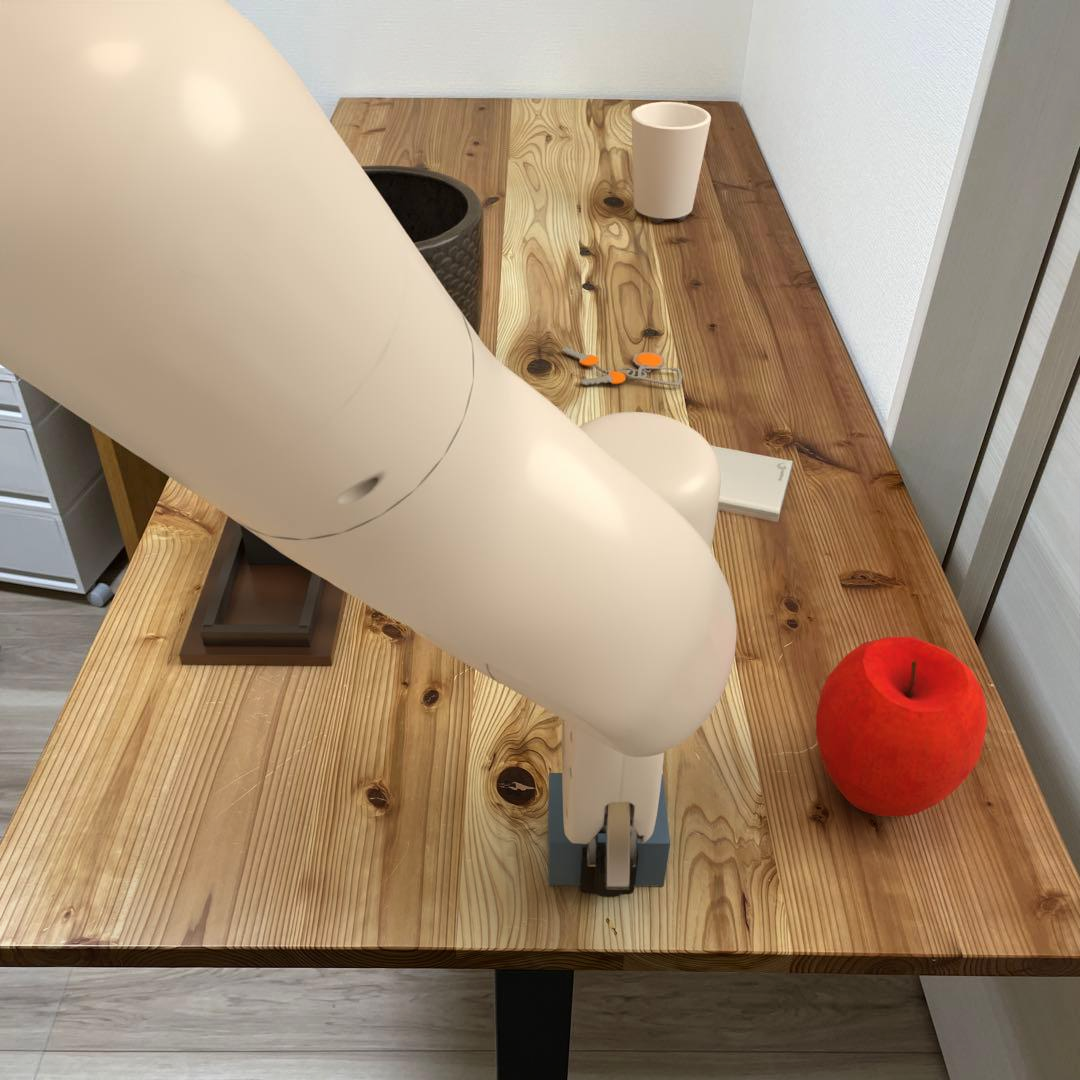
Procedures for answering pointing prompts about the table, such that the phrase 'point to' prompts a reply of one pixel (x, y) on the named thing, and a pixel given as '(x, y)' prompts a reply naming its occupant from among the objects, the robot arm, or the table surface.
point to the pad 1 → (262, 551)
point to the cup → (667, 158)
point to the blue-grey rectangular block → (569, 855)
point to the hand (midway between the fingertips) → (604, 846)
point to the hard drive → (752, 483)
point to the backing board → (261, 612)
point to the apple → (900, 725)
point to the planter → (440, 228)
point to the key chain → (625, 368)
